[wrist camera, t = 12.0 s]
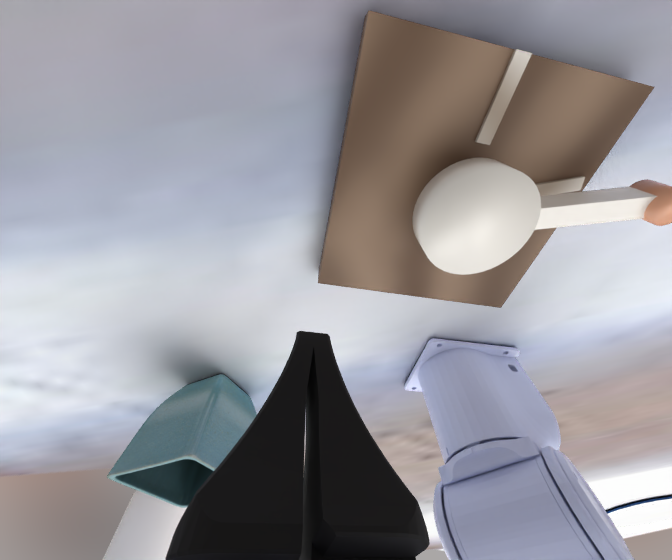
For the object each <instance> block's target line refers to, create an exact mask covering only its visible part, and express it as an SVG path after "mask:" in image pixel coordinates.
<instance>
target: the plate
mask: <svg viewBox="0 0 672 560" xmlns="http://www.w3.org/2000/svg"><path fill="white" fill-rule="evenodd" d="M669 501H672V496H669V497H662V498H656V499H650V500H645V501H640V502H635V503H632V504H628V505H625V506H621V507H618V508H615V509H612V510H610V511H607V514H608V515H609V516H610V515H613V514H616V513H619V512H622V511H625V510H629V509H633V508H636V507H641V506H646V505H651V504H656V503H662V502H669ZM670 527H672V519H668V520H664V521H660V522H655V523H649V524H643V525H636V526H616V528H617V530H618V531H619V533H620V534H633V533H641V532H649V531H655V530H661V529H666V528H670Z"/></svg>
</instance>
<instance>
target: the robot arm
mask: <svg viewBox="0 0 672 560" xmlns="http://www.w3.org/2000/svg"><path fill="white" fill-rule="evenodd" d="M519 354H520V351H519V349H518V348H513V347H504V346H496V345H487V344H478V343H470V342H461V341H452V340H444V339H431V340H429V341H428V343H427V345H426V347H425V349H424V350H423V352H422V354H421V356H420V358H419V360H418V361H417V363H416V365H415V367H414V369H413V370H412V372H411V374H410V376H409V378H408V380H407V381H406V383H405V385H404V386H405V389H406V390H409V391H420V392H423V395H424V398H425V401H426V405H427V408H428V411H429V414H430V418H431V421H432V424H433V427H434V430H435V434H436V437H437V440H438V443H439V447H440V450H441V453H442V456H443V460H444V463H445V465H443V466H441V467H439V468H438V469H439V473H440V476H441V480H442V481H440V482H439V483H438V484H437V485H436V488H435V493H434V501H433V508H434V517H435V522H436V527H437V531H438V534H439V537H440V540H441V543H442V546H443V548H444V551H445V553H446V555H447V557H448V559H449V560H635V559H634V558H633V556H632V555H631V553H630V551H629V549H628V547H627V546H626V543H625V542H624V540H623V538H622V536H621V535H620V533H619V531H618V530H617V528H616V526H615V525H614V523H613V522H612V520H611V518H610V517H609V515H608V514H607V512H606V511H605V509H604V508H603V506H602V505H601V503H600V501H599V500H598V498H597V497H596V496H595V494H594V493H593V491H592V490H591V488H590V487H589V485H588V484H587V482H586V481H585V480H584V478H583V477H582V475H581V474H580V473H579V471H578V470H577V468H576V467H575V466H574V464H573V463H572V462H571V461H570V459H569V458H568V457H567V456H566V455H565V454H564V453H563V452H560V451H559V448H560V442H561V438H560V431H559V426H558V423H557V420H556V418H555V416H554V414H553V412H552V410H551V409H550V407H549V406H548V404H547V403H546V401H545V400H544V398H543V397H542V395H541V394H540V392H539V391H538V390H537V388H536V387H535V385H534V384H533V382H532V381H531V379H530V378H529V376H528V375H527V374H526V372H525V371H524V369H523V368H522V366H521V365H520V363H519V362H518V360H517V359H516V358H517V356H518V355H519ZM305 410H306V452H305V465H304V436H305ZM303 475H304V478H303ZM428 545H429V537H428V532H427V528H426V525H425V521H424V518H423V515H422V512H421V510H420V507H419V504H418V502H417V500H416V499H415V497H414V496H413V495H412V493H411V492H410V491H409V490H408V488H407V487H406V486H405V484H404V483H403V482H402V480H401V479H400V478H399V476H398V475H397V474H396V472H395V471H394V469H393V468H392V467H391V465H390V464H389V462H388V461H387V459H386V458H385V457H384V455H383V453H382V452H381V450H380V449H379V447H378V446H377V444H376V442H375V441H374V439H373V438H372V436H371V435H370V433H369V431H368V429H367V428H366V426H365V424H364V422H363V421H362V419H361V417H360V415H359V413H358V411H357V409H356V407H355V405H354V403H353V401H352V399H351V397H350V395H349V393H348V390H347V388H346V386H345V383H344V381H343V378H342V376H341V373H340V371H339V368H338V365H337V362H336V359H335V356H334V353H333V349H332V346H331V341H330V336H329V335H328V334H323V333H314V332H305V331H299V332H297V335H296V340H295V343H294V346H293V349H292V352H291V354H290V357H289V359H288V361H287V363H286V365H285V368H284V370H283V372H282V374H281V376H280V377H279V379H278V381H277V383H276V385H275V387H274V388H273V390H272V392H271V394H270V395H269V397H268V399H267V400H266V402H265V403H264V405H263V407H262V408H261V410H260V411H259V413H258V414H257V416H256V417H255V419H254V420H253V421H252V423H251V424H250V426H249V427H248V429H247V430H246V431H245V433H244V434H243V435H242V437H241V438H240V439H239V441H238V442H237V443H236V445H235V446H234V447H233V448H232V450H231V451H230V452H229V453H228V455H227V456H226V457H225V459H224V460H223V461H222V462H221V463H220V465H219V466H218V467H217V468H216V469H215V470H214V472H213V473H212V474H211V475H210V476H209V477H208V479H207V480H206V481H205V482H204V483H203V484H202V486H201V487H200V488H199V489H198V490H197V492H196V494H195V495H194V497H193V498H192V500H191V502H190V503H189V505H188V507H187V508H186V510H185V512H184V514H183V516H182V517H181V519H180V521H179V523H178V525H177V528H176V530H175V532H174V535H173V537H172V540H171V543H170V546H169V549H168V552H167V555H166V558H165V559H166V560H416V558H415V557H416V556H417V555H418V554H420V553H421V552H422V551H424V550H425V549H426V548H427V547H428Z"/></svg>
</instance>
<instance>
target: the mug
mask: <svg viewBox="0 0 672 560" xmlns="http://www.w3.org/2000/svg"><path fill="white" fill-rule="evenodd" d="M185 510H186V508H181V507H177V506H174V505H172V504H170V503H167V502H165V501H163V500H160V499H158V498H155V497H153V496H150V495H147V494H145V493H142V492H140V491H137V490H135V492H134V494H133V496H132V499H131V500H130V503H129V505H128V507H127V509H126V511H125V513H124V515H123V518H122V520H121V522H120V524H119V526H118V528H117V530H116V533H115V535H114V537H113V539H112V541H111V544H110V545H109V548H108V550H107V552H106V554H105V556H104V558H103V560H166V559H165V558H166V555H167V552H168V549H169V546H170V543H171V540H172V537H173V535H174V532H175V530H176V528H177V525H178V523H179V521H180V519H181V517H182V516H183V514H184V512H185Z"/></svg>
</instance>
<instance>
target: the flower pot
mask: <svg viewBox="0 0 672 560" xmlns="http://www.w3.org/2000/svg"><path fill="white" fill-rule="evenodd" d="M256 416H257V414H256V411H255V408H254V406H253V403H252V401H251V398H250V397H249V396H248V395H247V394H246V393H245V392H244V391H243V390H241V389H240V388H239V387H238V386H237V385H236V384H234V383H233V382H232V381H231V380H230V379H229V378H228V377H227V376H225V375H223V374H219V375H216V376H213V377H210V378H207V379H204V380H201V381H198V382H195V383H192V384H189V385H186V386H185V387H183V388H182V389H180V390H179V391H177V392H176V393H174V394H173V395H172V396H170V397H169V398H168V399H167V400H165V401H164V402H163V403H162V404H161V405H160V406H159V407H158V408H157V409H156V410H155V411H154V412H153V413H152V414H151V415H150V416H149V418H148V419H147V420H146V421H145V423H144V424H143V425H142V427H141V428H140V429H139V431H138V432H137V434H136V435H135V436H134V438H133V439H132V441H131V442H130V444H129V445H128V446H127V448H126V449H125V451H124V452H123V454H122V455H121V456H120V458H119V459H118V461H117V462H116V464H115V465H114V467H113V468H112V470H111V471H110V472H109V474H108V475H107V478H109V479H111V480H113V481H115V482H118V483H120V484H123V485H125V486H128V487H130V488H133V489H135V490H137V491H140V492H142V493H145V494H147V495H150V496H153V497H155V498H158V499H160V500H163V501H165V502H167V503H170V504H172V505H174V506H177V507H181V508H187V507H188V505H189V503H190V502H191V500H192V498H193V497H194V495H195V494H196V492H197V490H198V489H199V488H200V487H201V486H202V484H203V483H204V482H205V481H206V480H207V479H208V477H209V476H210V475H211V474H212V473H213V472H214V470H215V469H216V468H217V467H218V466H219V465H220V463H221V462H222V461H223V460H224V459H225V457H226V456H227V455H228V453H229V452H230V451H231V450H232V448H233V447H234V446H235V445H236V443H237V442H238V441H239V439H240V438H241V437H242V435H243V434H244V433H245V431H246V430H247V429H248V427H249V426H250V424H251V423H252V421H253V420H254V419H255V417H256Z"/></svg>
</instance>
